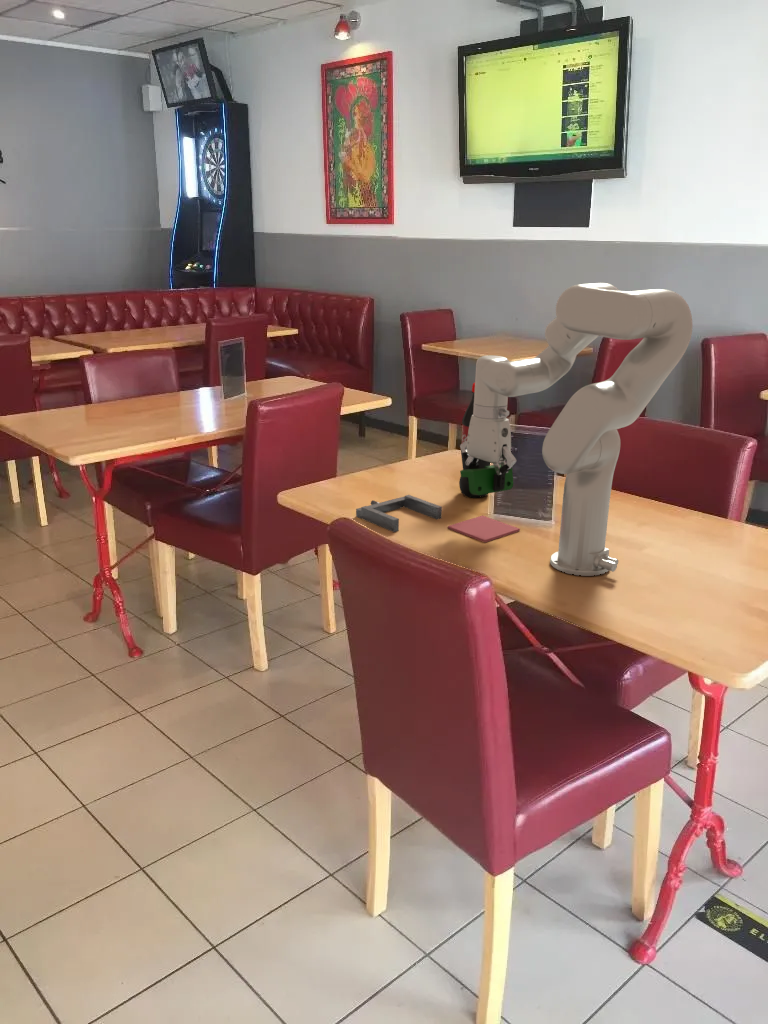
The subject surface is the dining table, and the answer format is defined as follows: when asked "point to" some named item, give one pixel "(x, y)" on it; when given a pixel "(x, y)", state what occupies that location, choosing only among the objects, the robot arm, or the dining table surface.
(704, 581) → the dining table surface
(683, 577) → the dining table surface
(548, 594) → the dining table surface
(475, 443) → the robot arm
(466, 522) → the mat
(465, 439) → the cola bottle
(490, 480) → the clamp
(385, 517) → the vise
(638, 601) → the dining table surface
